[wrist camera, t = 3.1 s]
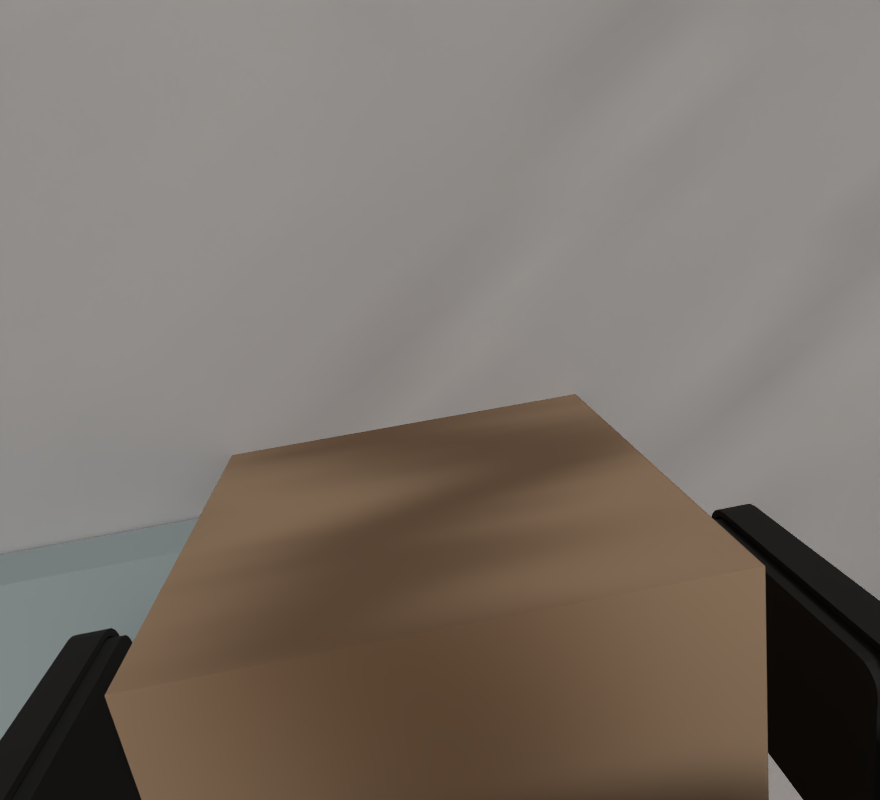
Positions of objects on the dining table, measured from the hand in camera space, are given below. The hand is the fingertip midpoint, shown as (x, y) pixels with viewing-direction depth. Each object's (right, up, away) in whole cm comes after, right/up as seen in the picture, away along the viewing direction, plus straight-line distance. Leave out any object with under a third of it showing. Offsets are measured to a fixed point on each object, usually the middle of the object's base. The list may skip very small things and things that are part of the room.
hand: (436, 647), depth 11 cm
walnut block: (0, +1, +2) cm, 2 cm away
